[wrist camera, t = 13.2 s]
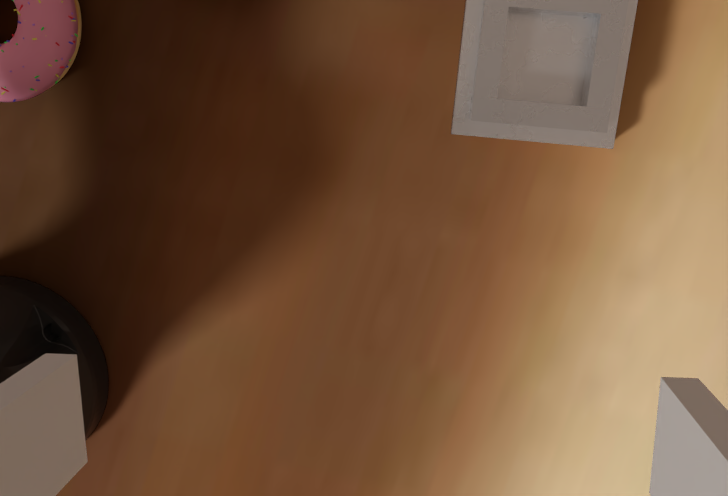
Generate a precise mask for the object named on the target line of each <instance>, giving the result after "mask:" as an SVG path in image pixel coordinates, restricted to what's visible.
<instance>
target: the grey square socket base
mask: <svg viewBox="0 0 728 496" xmlns="http://www.w3.org/2000/svg"><path fill="white" fill-rule="evenodd" d="M637 3H638V0H466V3H465V12H464V21H463V30H462V39H461V48H460V56H459V65H458V74H457V83H456V92H455V101H454V110H453V118H452V127H451V134H458V135H469V136H480V137H490V138H501V139H512V140H523V141H534V142H544V143H555V144H566V145H577V146H587V147H598V148H609V149H613V147H614V141H615V135H616V129H617V123H618V117H619V111H620V105H621V99H622V93H623V87H624V81H625V75H626V69H627V63H628V57H629V51H630V45H631V39H632V33H633V27H634V21H635V15H636V9H637Z"/></svg>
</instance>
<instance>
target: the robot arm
mask: <svg viewBox="0 0 728 496" xmlns="http://www.w3.org/2000/svg"><path fill="white" fill-rule="evenodd" d="M107 396H108V371H107V365H106V361H105V357H104V354H103V351H102V348H101V346H100V344H99V341H98V339H97V337H96V335H95V334H94V332H93V330H92V329H91V327H90V326H89V324H88V323H87V322H86V320H85V319H84V318H83V317H82V315H81V314H80V313H79V312H78V311H77V310H76V309H75V308H74V307H73V306H72V305H71V304H69V303H68V302H67V301H66V300H65V299H63V298H62V297H61V296H59V295H58V294H56V293H55V292H53V291H51V290H49V289H48V288H46V287H44V286H41V285H39V284H37V283H34V282H31V281H28V280H25V279H20V278H15V277H7V276H0V496H56V494H57V493H58V492H59V491H60V490H61V489H62V488H63V487H64V486H65V485H66V484H67V483H68V482H69V481H70V480H71V479H72V478H73V476H74V475H75V474H76V473H77V472H78V471H79V470H80V469H81V468H82V467H83V466H84V465H85V464H86V463H87V452H86V442H85V440H86V439H87V438H88V437H89V436H90V435H91V433H92V432H93V431H94V429H95V428H96V426H97V425H98V423H99V421H100V419H101V417H102V415H103V412H104V409H105V406H106V402H107ZM649 493H650V495H651V496H728V410H727V409H726V408H725V407H724V406H723V405H722V404H721V403H720V402H719V401H718V399H717V398H716V397H715V396H714V395H713V394H712V393H711V392H710V391H709V390H708V389H707V387H706V386H705V385H704V384H703V383H702V382H701V381H700V380H699V379H698V378H673V377H661V382H660V391H659V401H658V411H657V421H656V431H655V441H654V451H653V461H652V471H651V481H650V491H649Z"/></svg>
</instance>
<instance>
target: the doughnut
mask: <svg viewBox="0 0 728 496" xmlns="http://www.w3.org/2000/svg"><path fill="white" fill-rule="evenodd" d="M12 1H13V2H14V3H15V5H16V8H17V9H13V10H14V11H17V14H18V26H17V30H16V32H15V34H12V36H13V37H12V39H11V40H6V41H7V42H4V43H2V44H0V102H17V101H23V100H26V99H30V98H33V97H35V96H38V95H39V94H41V93H43V92H44V91H46V90H48V89H50V88H51V87H52V86H54V85H55V84H56V83H58V82H59V81H60V80H61V79H62V78H63V77H64V75H65V74H66V73H67V72H68V70H69V69H70V67H71V65H72V64H73V62H74V60H75V57H76V55H77V52H78V49H79V45H80V40H81V32H82V20H81V11H80V6H79V2H78V0H12Z"/></svg>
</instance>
